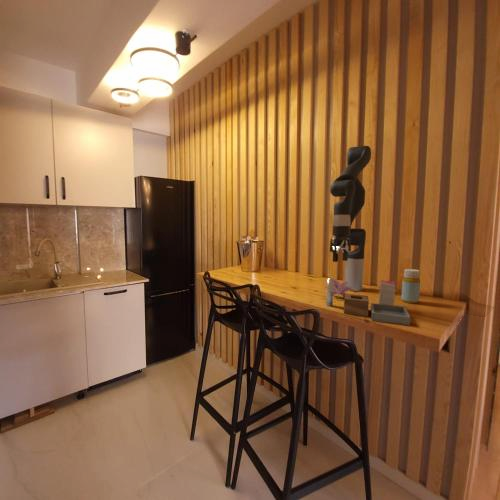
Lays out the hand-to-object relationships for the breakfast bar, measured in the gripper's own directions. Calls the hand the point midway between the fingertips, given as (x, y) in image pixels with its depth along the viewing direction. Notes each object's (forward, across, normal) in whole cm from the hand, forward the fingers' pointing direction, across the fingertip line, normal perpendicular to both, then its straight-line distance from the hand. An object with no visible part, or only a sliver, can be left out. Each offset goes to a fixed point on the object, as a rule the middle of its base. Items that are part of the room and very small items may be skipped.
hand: (340, 261), depth 124 cm
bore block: (+20, +6, +11) cm, 23 cm away
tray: (+20, +2, +23) cm, 30 cm away
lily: (+19, -7, -4) cm, 21 cm away
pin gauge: (+19, +7, -1) cm, 21 cm away
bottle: (+19, -27, +21) cm, 39 cm away
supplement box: (+20, -8, +18) cm, 28 cm away
